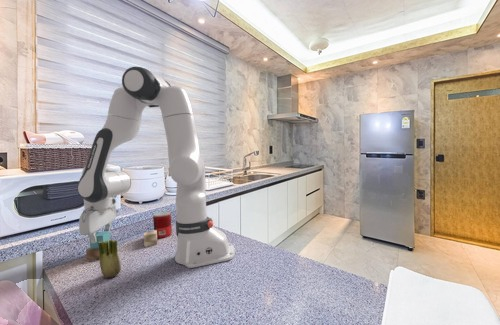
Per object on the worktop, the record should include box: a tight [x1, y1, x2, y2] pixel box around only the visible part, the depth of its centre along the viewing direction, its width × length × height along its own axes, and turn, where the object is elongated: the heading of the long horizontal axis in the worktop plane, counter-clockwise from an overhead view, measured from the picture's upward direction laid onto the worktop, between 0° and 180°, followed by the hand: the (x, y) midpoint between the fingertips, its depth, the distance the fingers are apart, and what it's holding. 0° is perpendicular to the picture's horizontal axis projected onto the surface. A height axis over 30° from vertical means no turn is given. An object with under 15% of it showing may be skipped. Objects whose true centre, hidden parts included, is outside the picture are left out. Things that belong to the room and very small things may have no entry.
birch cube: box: [143, 229, 158, 248], centre depth 98 cm, size 5×5×5 cm
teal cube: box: [89, 230, 111, 249], centre depth 89 cm, size 5×5×5 cm
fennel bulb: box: [98, 239, 122, 279], centre depth 73 cm, size 6×5×12 cm
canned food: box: [152, 210, 173, 239], centre depth 107 cm, size 8×8×11 cm
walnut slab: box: [85, 244, 109, 260], centre depth 89 cm, size 7×7×4 cm
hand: (101, 237), depth 89 cm, fingers open, 8 cm apart
